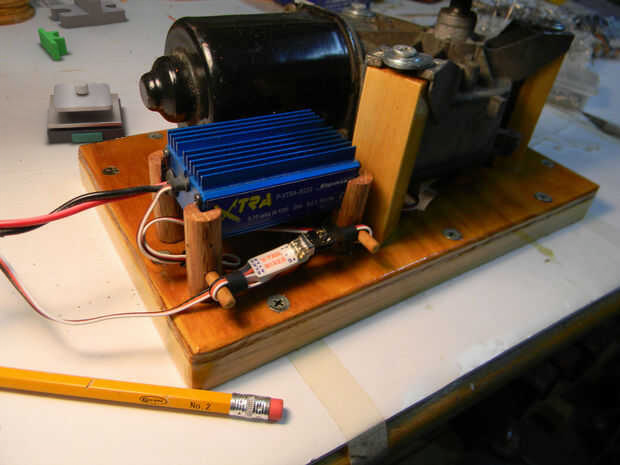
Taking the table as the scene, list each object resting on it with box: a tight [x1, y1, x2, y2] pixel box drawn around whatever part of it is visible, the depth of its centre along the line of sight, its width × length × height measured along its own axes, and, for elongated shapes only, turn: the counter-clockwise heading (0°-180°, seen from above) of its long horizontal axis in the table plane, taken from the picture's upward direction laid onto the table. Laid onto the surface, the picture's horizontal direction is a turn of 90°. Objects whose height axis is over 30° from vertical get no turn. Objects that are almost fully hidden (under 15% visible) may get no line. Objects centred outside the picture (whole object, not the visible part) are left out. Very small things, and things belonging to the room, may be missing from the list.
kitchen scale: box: [46, 98, 126, 144], centre depth 92 cm, size 13×14×3 cm
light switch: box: [53, 80, 113, 112], centre depth 89 cm, size 10×10×5 cm
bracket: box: [49, 0, 127, 29], centre depth 134 cm, size 10×18×11 cm, turn 135°
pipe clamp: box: [37, 27, 69, 61], centre depth 116 cm, size 11×4×5 cm, turn 39°
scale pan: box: [47, 92, 122, 129], centre depth 91 cm, size 12×12×1 cm
